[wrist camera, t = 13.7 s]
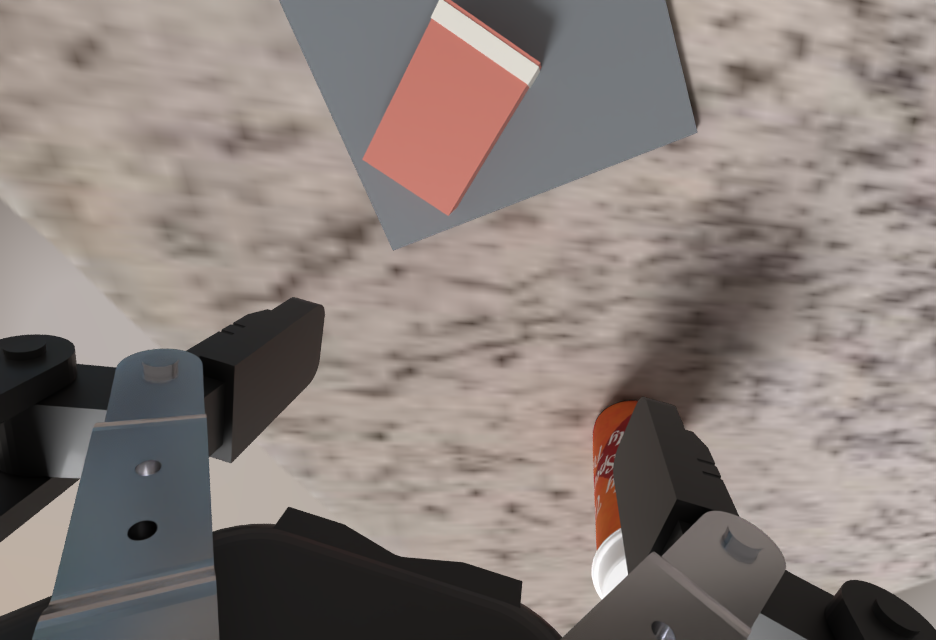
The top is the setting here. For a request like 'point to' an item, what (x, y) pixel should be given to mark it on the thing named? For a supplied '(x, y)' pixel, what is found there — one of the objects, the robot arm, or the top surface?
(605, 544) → the paper cup
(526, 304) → the top surface
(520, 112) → the mat
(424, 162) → the card deck
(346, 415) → the top surface
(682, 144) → the top surface
